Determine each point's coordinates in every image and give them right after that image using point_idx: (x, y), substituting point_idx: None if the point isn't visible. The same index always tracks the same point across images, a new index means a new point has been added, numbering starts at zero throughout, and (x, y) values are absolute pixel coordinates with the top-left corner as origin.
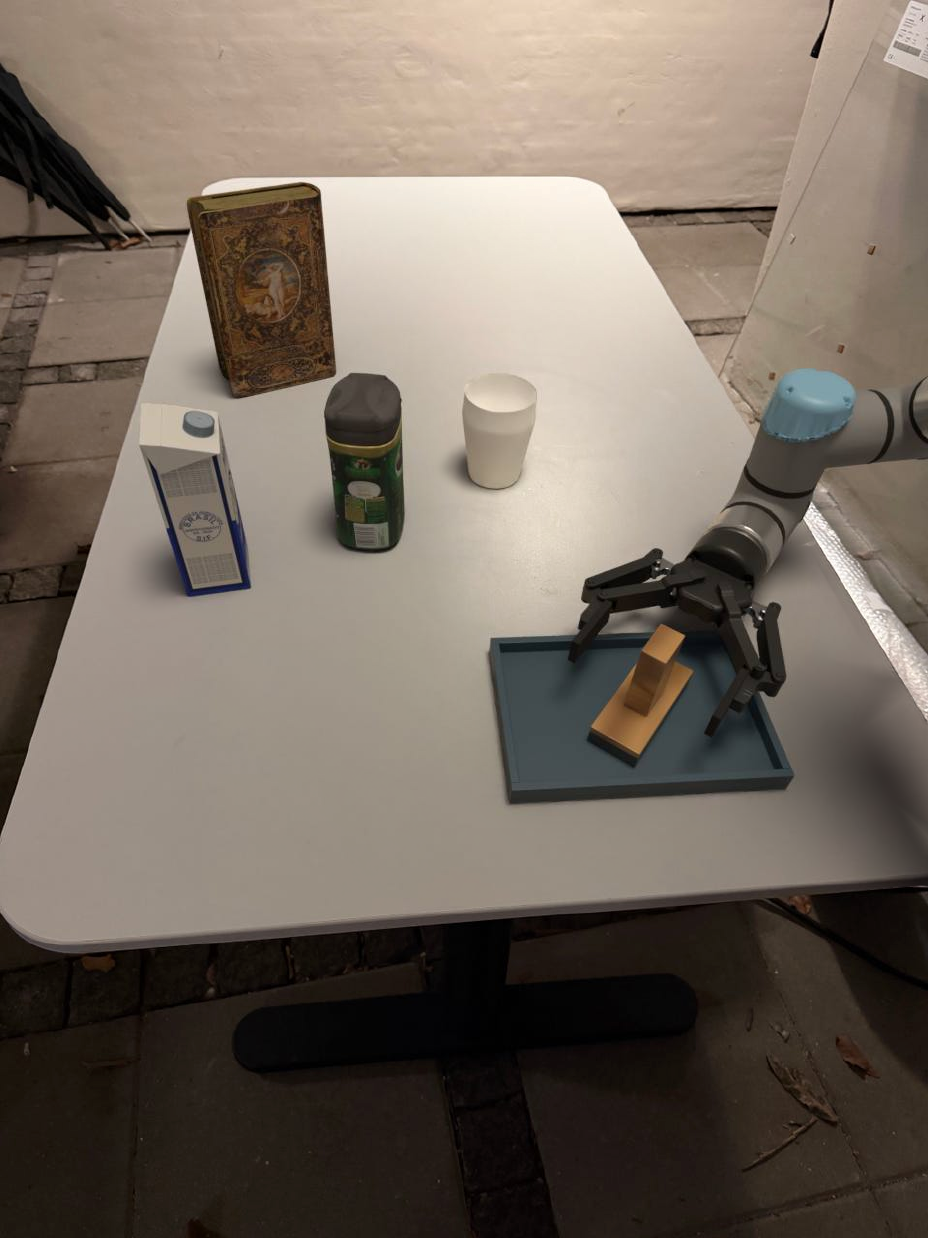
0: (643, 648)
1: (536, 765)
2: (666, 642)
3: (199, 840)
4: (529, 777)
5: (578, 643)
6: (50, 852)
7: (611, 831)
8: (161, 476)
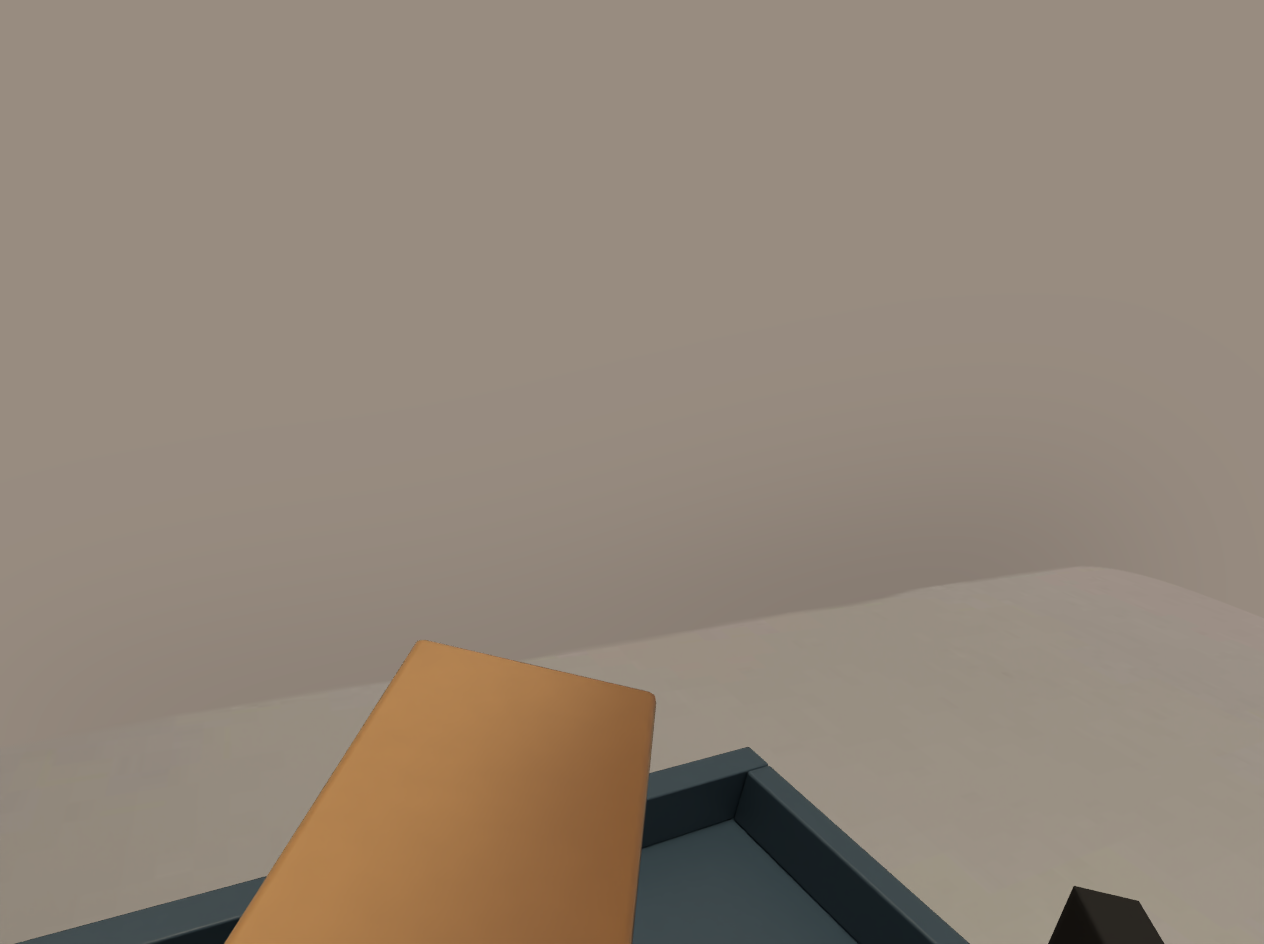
0: (649, 705)
1: (738, 913)
2: (462, 800)
3: (1130, 653)
4: (730, 866)
5: (1085, 894)
6: (1230, 620)
7: None
8: None
